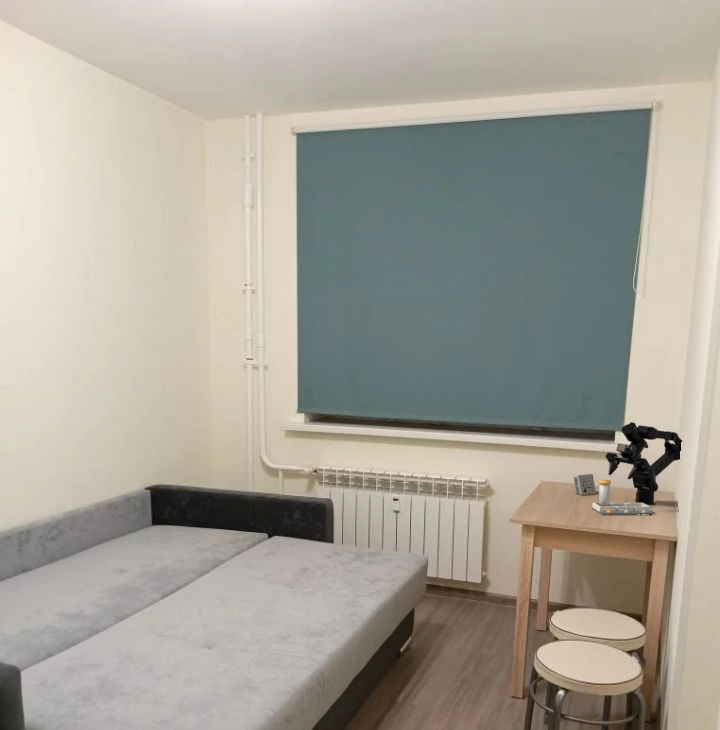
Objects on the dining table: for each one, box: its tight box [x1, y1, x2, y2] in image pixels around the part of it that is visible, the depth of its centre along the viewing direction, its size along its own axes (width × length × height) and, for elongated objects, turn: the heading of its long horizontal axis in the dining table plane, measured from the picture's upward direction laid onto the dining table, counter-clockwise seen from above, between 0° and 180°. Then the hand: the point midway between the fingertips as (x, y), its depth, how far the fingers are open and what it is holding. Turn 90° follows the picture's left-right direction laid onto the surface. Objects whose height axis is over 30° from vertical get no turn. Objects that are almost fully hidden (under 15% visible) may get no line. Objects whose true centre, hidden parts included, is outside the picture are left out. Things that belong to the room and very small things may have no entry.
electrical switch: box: [573, 473, 597, 496], centre depth 309 cm, size 9×5×9 cm, turn 116°
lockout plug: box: [598, 479, 611, 506], centre depth 276 cm, size 5×5×12 cm
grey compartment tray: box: [591, 502, 655, 516], centre depth 276 cm, size 22×10×3 cm, turn 95°
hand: (618, 476), depth 281 cm, fingers open, 9 cm apart
